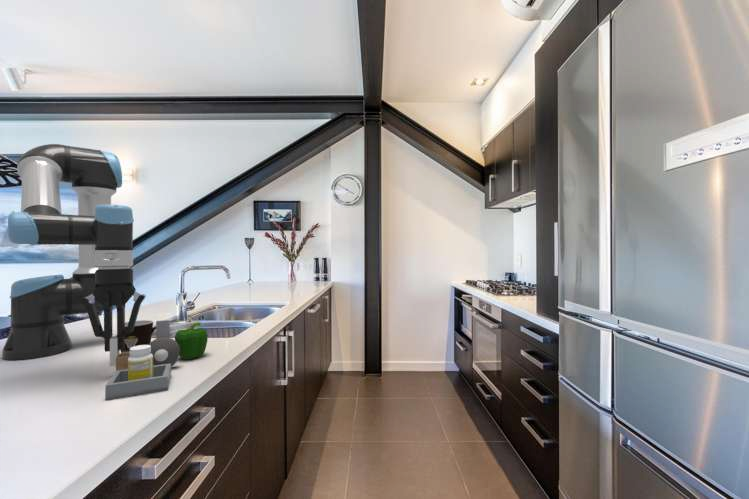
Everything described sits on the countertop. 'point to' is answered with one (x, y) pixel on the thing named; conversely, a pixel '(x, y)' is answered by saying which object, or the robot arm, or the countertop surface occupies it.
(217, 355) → the countertop surface
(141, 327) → the coffee mug
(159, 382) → the tray
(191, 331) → the bell pepper
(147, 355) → the supplement bottle
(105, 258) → the robot arm
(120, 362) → the wooden block
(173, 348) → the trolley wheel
